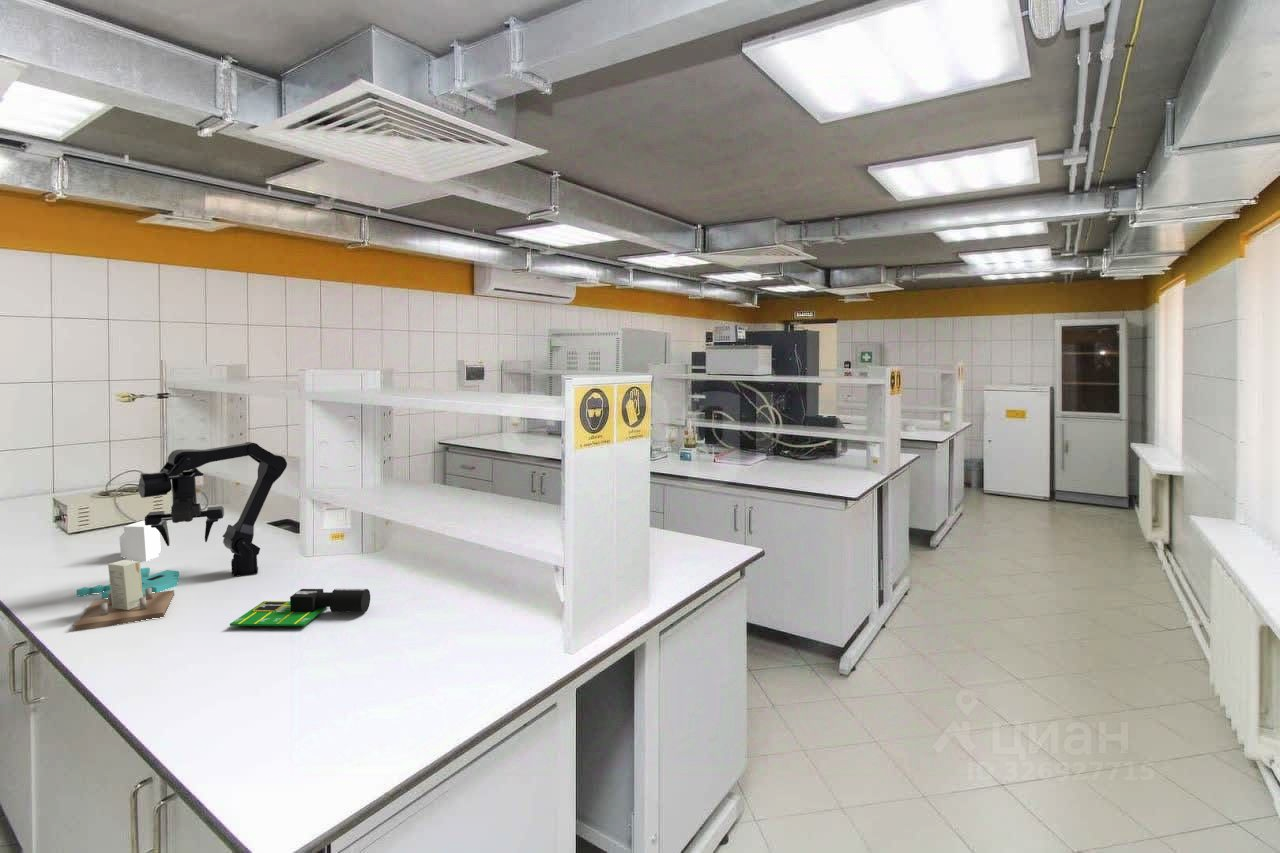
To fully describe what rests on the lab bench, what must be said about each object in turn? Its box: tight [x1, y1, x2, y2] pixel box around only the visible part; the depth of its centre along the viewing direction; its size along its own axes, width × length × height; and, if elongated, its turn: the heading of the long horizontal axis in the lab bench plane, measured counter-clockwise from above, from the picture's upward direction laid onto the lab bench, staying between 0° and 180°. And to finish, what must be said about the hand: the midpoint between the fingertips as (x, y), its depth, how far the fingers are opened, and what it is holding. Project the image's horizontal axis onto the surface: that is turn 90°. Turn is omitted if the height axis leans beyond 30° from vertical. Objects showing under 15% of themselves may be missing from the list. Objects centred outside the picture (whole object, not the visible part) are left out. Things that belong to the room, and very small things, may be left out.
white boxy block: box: [118, 519, 162, 562], centre depth 216 cm, size 11×11×12 cm
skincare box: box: [107, 559, 143, 610], centre depth 169 cm, size 6×4×12 cm
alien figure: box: [75, 567, 180, 599], centre depth 188 cm, size 20×2×20 cm
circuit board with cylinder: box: [229, 588, 371, 627], centre depth 167 cm, size 30×7×15 cm
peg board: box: [73, 588, 175, 632], centre depth 170 cm, size 18×18×4 cm
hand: (187, 543), depth 188 cm, fingers open, 9 cm apart
